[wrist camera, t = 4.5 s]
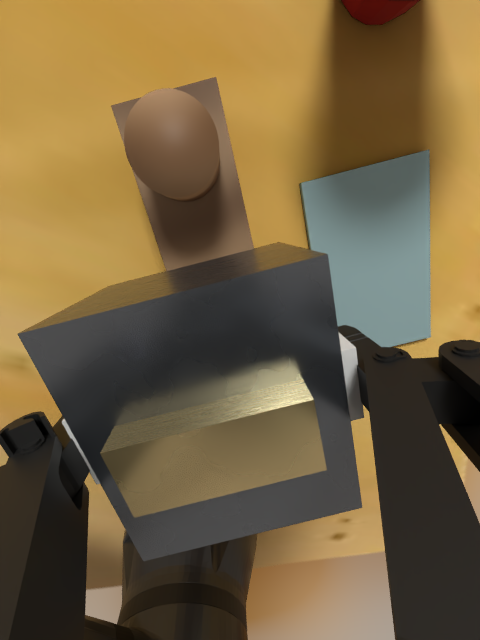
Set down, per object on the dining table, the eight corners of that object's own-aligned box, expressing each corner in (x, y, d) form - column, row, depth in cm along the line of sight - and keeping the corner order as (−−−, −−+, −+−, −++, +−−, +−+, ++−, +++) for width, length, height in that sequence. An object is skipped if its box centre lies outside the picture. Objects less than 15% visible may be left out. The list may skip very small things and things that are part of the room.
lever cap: (309, 404, 15) (377, 537, 9) (171, 439, 16) (135, 596, 9) (278, 242, 12) (345, 258, 6) (108, 286, 13) (-15, 350, 6)
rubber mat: (426, 335, 27) (430, 337, 26) (326, 359, 27) (328, 362, 27) (424, 151, 21) (429, 149, 21) (299, 183, 22) (301, 183, 21)
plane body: (284, 404, 29) (318, 508, 18) (227, 418, 29) (230, 528, 18) (217, 111, 20) (211, -10, 9) (137, 133, 20) (45, 36, 10)
